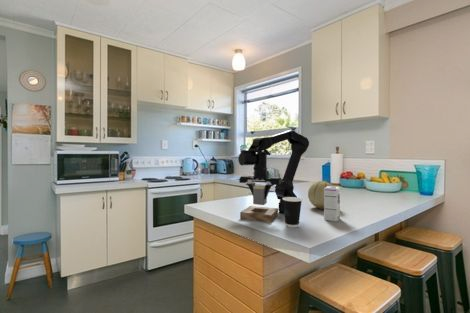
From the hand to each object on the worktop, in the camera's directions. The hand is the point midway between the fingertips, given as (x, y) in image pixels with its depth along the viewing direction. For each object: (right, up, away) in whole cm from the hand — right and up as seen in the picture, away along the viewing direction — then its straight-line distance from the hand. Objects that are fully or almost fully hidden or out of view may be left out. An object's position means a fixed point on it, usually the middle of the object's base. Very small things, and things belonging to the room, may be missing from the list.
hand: (260, 198), depth 116 cm
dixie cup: (+12, -9, -13) cm, 20 cm away
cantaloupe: (+35, -9, +18) cm, 41 cm away
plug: (0, -2, 0) cm, 2 cm away
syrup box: (+32, -9, -3) cm, 33 cm away
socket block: (0, -8, 0) cm, 8 cm away
